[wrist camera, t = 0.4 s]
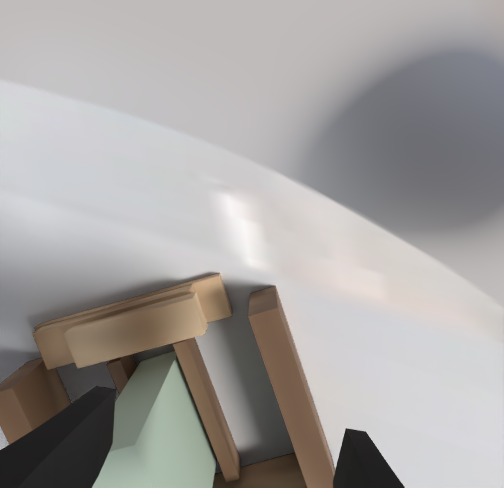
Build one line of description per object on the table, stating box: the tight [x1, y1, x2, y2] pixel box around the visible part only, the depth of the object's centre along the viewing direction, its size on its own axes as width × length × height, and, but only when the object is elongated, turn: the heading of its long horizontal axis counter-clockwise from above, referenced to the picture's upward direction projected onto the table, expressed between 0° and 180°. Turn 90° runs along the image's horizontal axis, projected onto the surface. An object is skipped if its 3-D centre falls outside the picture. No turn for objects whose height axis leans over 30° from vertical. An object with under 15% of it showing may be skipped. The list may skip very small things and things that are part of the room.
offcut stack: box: [33, 273, 232, 370], centre depth 21 cm, size 11×2×3 cm, turn 106°
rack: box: [0, 286, 335, 488], centre depth 22 cm, size 16×12×4 cm
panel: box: [92, 351, 217, 488], centre depth 19 cm, size 2×7×8 cm, turn 18°
